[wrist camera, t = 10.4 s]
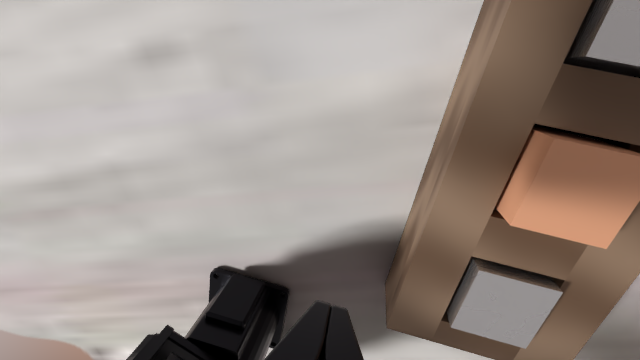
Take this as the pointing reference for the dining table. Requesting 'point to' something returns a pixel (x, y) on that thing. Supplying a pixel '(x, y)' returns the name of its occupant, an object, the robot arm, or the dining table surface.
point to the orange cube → (571, 187)
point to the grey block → (608, 38)
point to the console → (493, 172)
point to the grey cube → (502, 302)
